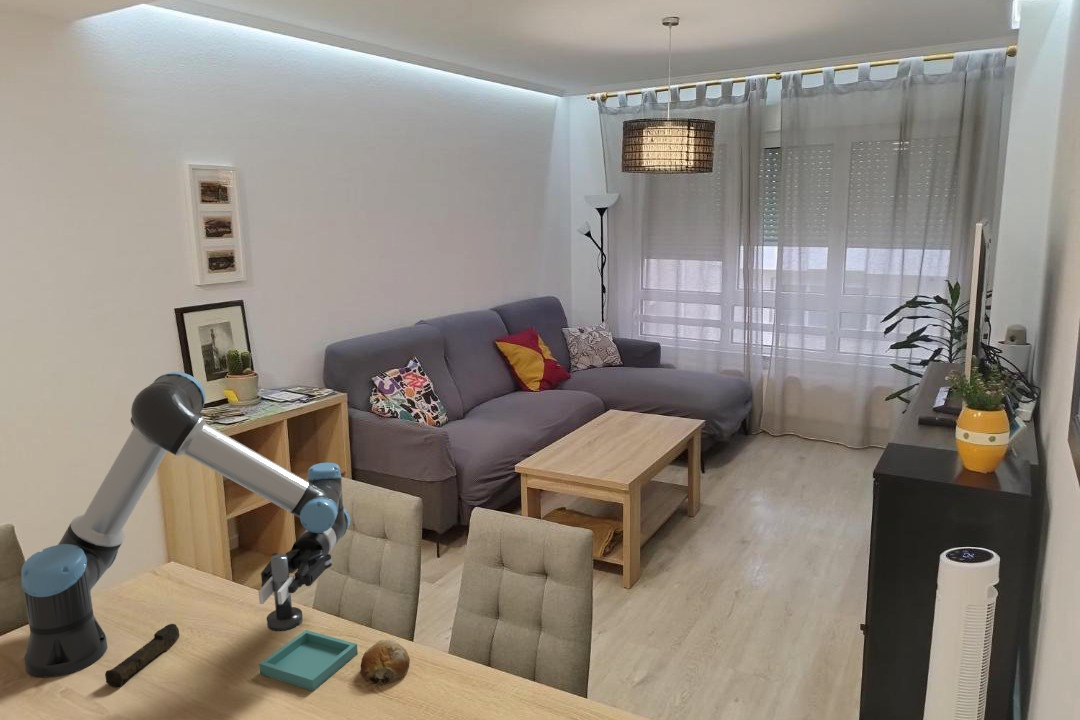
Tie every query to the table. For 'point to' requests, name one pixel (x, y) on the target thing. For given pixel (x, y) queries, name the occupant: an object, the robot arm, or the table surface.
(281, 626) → the joystick
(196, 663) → the table surface
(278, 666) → the tray
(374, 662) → the bread roll
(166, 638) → the hand tool
